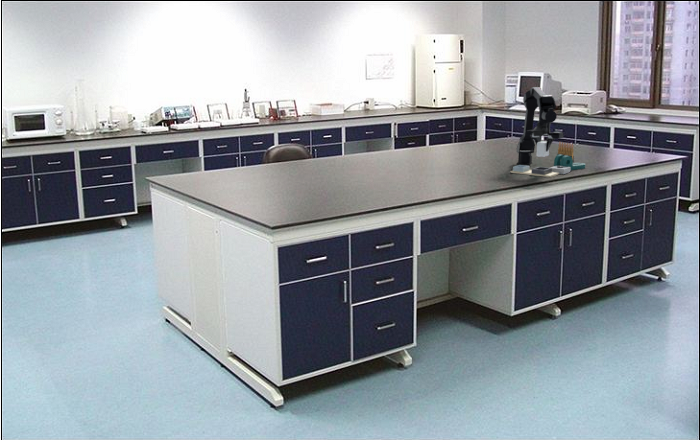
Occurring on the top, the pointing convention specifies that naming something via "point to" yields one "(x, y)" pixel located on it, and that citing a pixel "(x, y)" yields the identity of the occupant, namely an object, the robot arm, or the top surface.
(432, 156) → the top surface
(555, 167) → the grey knob block
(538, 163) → the top surface
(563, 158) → the bracket
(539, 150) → the plug
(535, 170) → the frame
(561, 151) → the ammunition clip
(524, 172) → the board
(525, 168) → the header 3pin
